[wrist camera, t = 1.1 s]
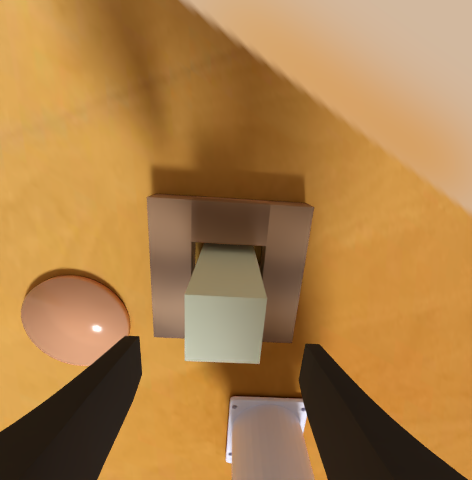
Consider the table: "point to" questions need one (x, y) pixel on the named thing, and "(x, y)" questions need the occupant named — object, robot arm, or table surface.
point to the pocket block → (226, 232)
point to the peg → (225, 306)
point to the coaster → (74, 319)
